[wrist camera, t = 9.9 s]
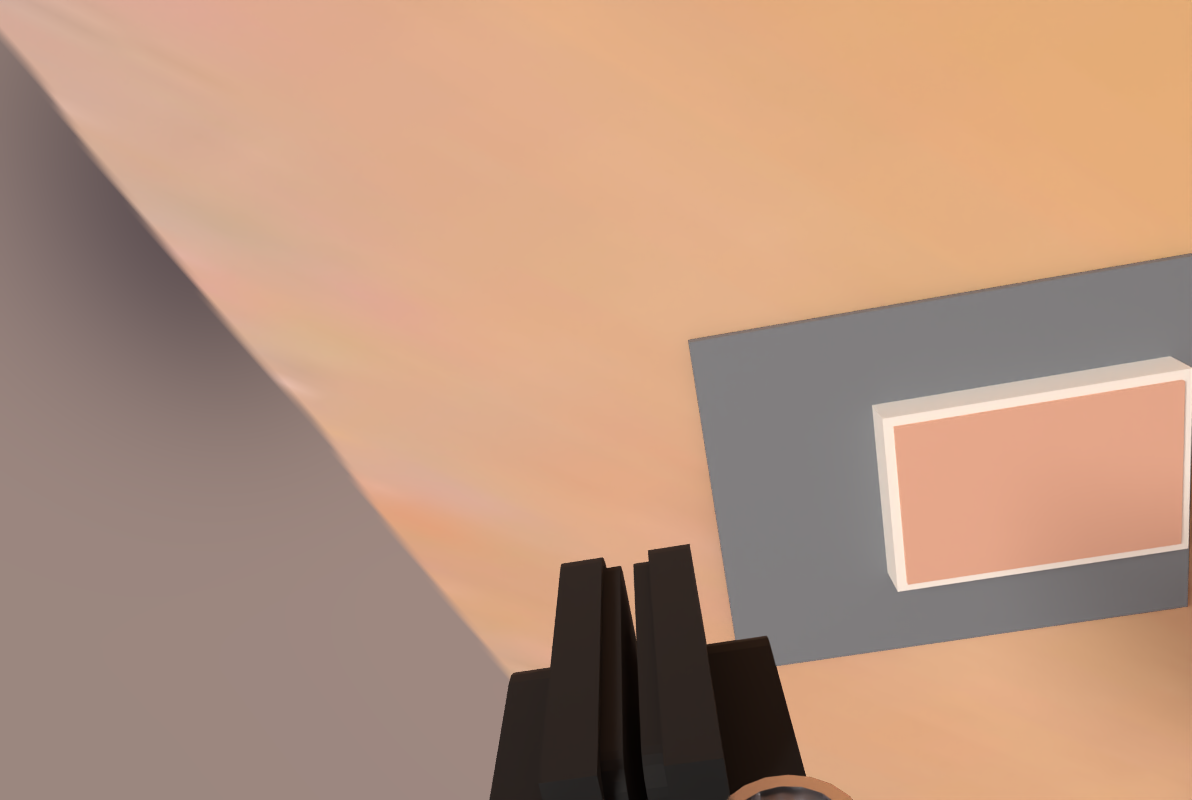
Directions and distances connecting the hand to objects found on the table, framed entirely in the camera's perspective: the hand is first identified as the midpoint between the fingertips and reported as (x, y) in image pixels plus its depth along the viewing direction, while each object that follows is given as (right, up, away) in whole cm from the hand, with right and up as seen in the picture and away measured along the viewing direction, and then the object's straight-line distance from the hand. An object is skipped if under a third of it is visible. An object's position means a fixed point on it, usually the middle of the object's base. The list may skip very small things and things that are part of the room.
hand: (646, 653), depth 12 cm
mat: (+14, 0, +29) cm, 32 cm away
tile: (+12, -1, +28) cm, 30 cm away
